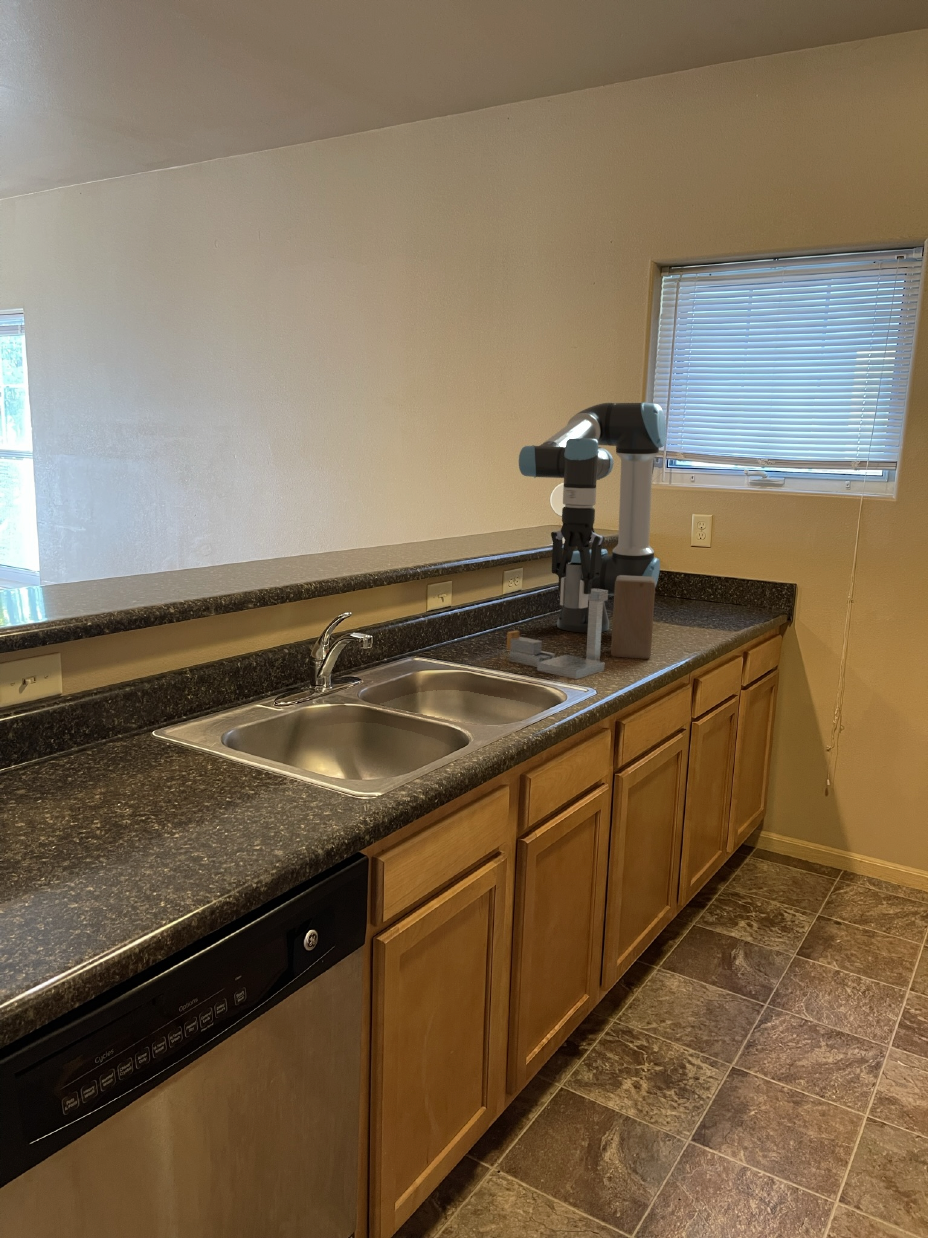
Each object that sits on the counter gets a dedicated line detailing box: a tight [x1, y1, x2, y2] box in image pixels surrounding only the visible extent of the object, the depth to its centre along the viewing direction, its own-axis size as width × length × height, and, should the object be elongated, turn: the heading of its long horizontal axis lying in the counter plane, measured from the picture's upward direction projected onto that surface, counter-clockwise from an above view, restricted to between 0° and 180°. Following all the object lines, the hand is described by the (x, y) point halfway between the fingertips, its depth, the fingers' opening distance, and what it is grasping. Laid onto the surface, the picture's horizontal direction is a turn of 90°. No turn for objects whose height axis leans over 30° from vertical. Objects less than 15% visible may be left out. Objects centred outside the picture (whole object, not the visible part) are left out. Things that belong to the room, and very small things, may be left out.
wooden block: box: [610, 575, 656, 660], centre depth 235 cm, size 10×10×20 cm
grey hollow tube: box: [564, 562, 583, 609], centre depth 214 cm, size 4×4×10 cm
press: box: [509, 588, 609, 680], centre depth 222 cm, size 18×22×18 cm
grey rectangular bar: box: [506, 630, 543, 655], centre depth 226 cm, size 3×8×4 cm, turn 49°
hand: (573, 605), depth 215 cm, fingers closed on grey hollow tube, 4 cm apart
